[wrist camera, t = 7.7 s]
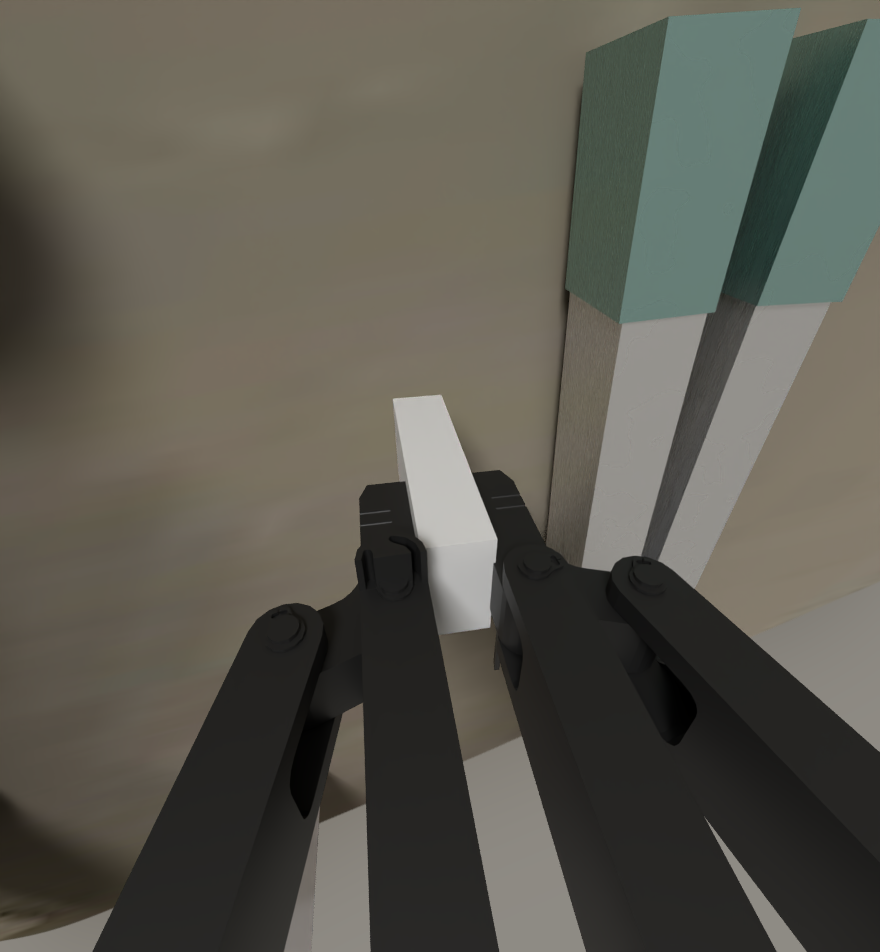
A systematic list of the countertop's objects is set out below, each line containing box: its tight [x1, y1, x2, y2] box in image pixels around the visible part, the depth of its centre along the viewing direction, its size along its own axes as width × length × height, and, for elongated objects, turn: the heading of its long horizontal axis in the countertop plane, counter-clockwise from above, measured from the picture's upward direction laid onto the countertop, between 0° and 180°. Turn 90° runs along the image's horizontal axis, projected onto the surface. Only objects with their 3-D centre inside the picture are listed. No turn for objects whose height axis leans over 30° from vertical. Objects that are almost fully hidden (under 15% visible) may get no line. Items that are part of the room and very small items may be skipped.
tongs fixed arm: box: [641, 19, 880, 589], centre depth 19 cm, size 8×27×4 cm, turn 1°
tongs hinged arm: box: [546, 8, 801, 571], centre depth 18 cm, size 3×24×4 cm, turn 4°
